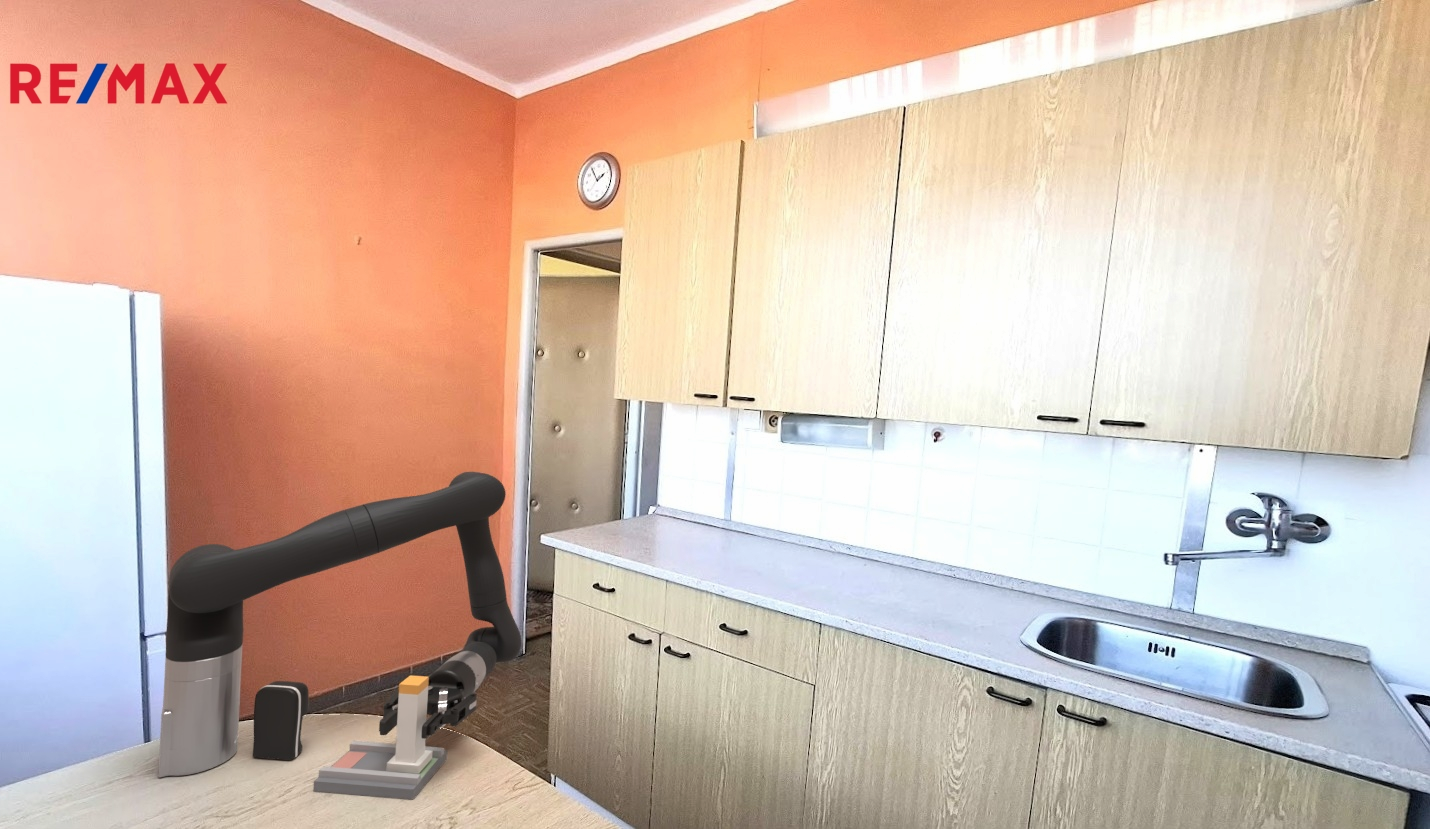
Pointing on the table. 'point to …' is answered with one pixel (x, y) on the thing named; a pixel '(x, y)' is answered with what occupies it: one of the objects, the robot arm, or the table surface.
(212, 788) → the table surface
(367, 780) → the switch panel
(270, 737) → the battery charger
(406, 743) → the switch handle
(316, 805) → the table surface
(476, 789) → the table surface
